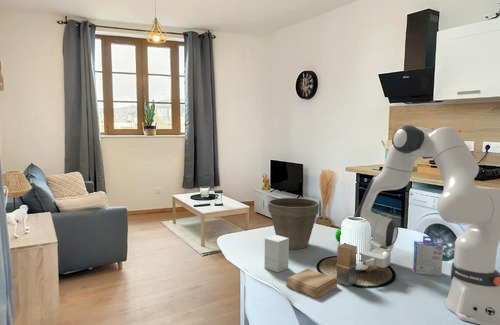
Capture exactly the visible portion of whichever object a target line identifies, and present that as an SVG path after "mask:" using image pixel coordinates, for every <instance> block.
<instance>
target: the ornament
mask: <svg viewBox="0 0 500 325" xmlns="http://www.w3.org/2000/svg"><path fill="white" fill-rule="evenodd" d="M341 228H342V227H340V228H338V229H337V230H336V232H335V239H336V241H337V242H338V243H339V244H341V243H340V235H341V231H340V230H341Z"/></svg>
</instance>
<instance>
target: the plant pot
mask: <svg viewBox="0 0 500 325" xmlns="http://www.w3.org/2000/svg"><path fill="white" fill-rule="evenodd" d="M267 204H268V207H267V208H268V212H269V214H270V216H271V220H272V224H273V229H274V232H275V234H274V235H278V236H282V237H286V238H289V250H301V249H305V248H306V247H308V245H309V242H310V239H311V236H312V233H313V229H314V226H315V222H316V217H317V215H318V214H319V207H320V202H318V201H317V200H314V199H309V198H303V197H302V198H301V197H279V198H273V199H270V200H269V201H268V202H267Z"/></svg>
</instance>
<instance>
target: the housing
mask: <svg viewBox="0 0 500 325" xmlns="http://www.w3.org/2000/svg"><path fill="white" fill-rule="evenodd" d="M350 244H351V243H348V244H346V243H344V244H339V245H338V246H337V247H338V254H337V255H336V256H337V257H336V258H337V259H336V260H337V261H336V264H335V266H336V277H335V278H336V279H337V284H339V285H341V286H344V287H348V288H350V286H353V285H354V284H355V283H356V273H357V272H356V270H357V265H358V264H357V260H356V254H357V246H358V245H355V246H353V245H354V244H351V245H350Z"/></svg>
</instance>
